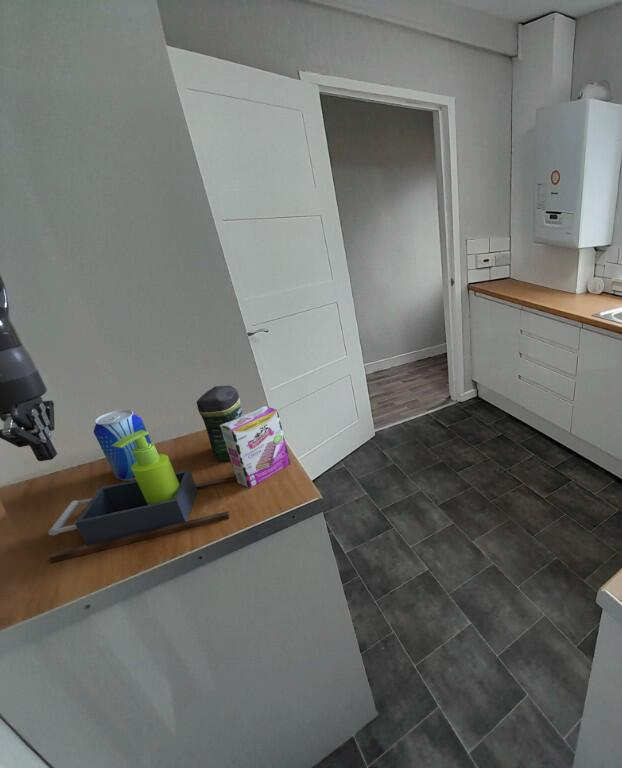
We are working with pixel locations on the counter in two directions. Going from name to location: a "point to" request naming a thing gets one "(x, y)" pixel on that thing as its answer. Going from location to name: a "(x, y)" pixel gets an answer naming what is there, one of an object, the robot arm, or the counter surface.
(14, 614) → the counter surface
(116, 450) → the beer can
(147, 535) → the rails
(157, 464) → the soap dispenser
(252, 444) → the candy bar box
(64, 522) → the tray
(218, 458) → the coffee jar
